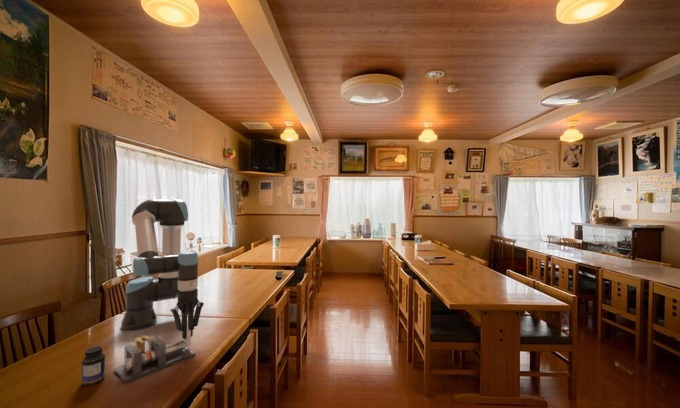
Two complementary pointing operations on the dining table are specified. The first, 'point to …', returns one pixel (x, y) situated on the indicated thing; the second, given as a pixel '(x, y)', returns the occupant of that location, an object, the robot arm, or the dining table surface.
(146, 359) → the air tube
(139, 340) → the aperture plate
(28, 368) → the dining table surface
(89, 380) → the pill bottle
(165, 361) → the grey mechanical fixture
